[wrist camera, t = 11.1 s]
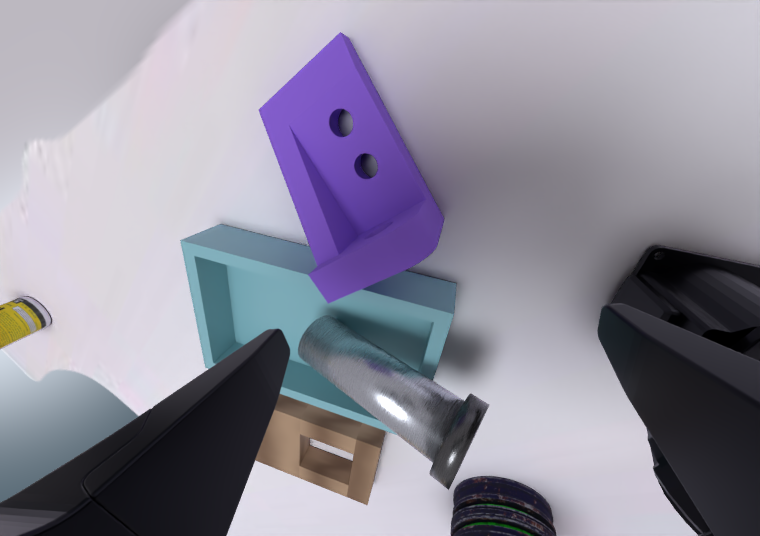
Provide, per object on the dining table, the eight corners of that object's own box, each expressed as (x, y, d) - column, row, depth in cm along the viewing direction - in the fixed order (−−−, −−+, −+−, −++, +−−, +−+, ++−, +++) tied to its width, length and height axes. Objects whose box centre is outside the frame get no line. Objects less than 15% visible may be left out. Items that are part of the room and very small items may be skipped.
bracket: (444, 217, 20) (434, 257, 14) (364, 257, 23) (328, 303, 17) (350, 39, 17) (287, -5, 11) (272, 110, 20) (190, 105, 14)
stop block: (387, 425, 31) (380, 448, 28) (373, 481, 36) (367, 505, 34) (246, 376, 33) (231, 394, 31) (252, 435, 38) (240, 454, 36)
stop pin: (348, 312, 26) (492, 399, 20) (321, 366, 26) (458, 471, 20) (313, 303, 22) (485, 412, 15) (279, 368, 21) (440, 505, 15)
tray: (456, 283, 22) (453, 314, 18) (420, 400, 28) (413, 440, 24) (220, 224, 25) (180, 240, 22) (234, 340, 31) (205, 367, 28)
